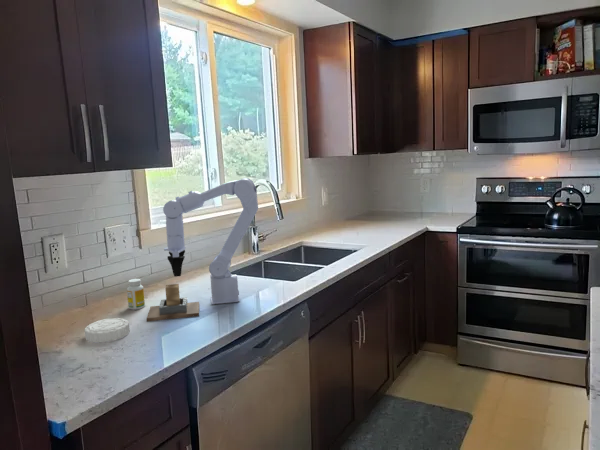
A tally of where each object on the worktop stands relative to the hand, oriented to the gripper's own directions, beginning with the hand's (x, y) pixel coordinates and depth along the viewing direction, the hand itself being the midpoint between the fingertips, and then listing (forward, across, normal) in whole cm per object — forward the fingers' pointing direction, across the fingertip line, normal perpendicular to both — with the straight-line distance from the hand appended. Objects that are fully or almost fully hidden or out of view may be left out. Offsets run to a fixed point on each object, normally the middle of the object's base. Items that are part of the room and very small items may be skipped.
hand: (177, 273), depth 161 cm
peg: (+9, +11, -1) cm, 14 cm away
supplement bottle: (+11, 0, -14) cm, 18 cm away
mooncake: (+11, +24, -20) cm, 33 cm away
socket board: (+10, +11, -1) cm, 15 cm away
